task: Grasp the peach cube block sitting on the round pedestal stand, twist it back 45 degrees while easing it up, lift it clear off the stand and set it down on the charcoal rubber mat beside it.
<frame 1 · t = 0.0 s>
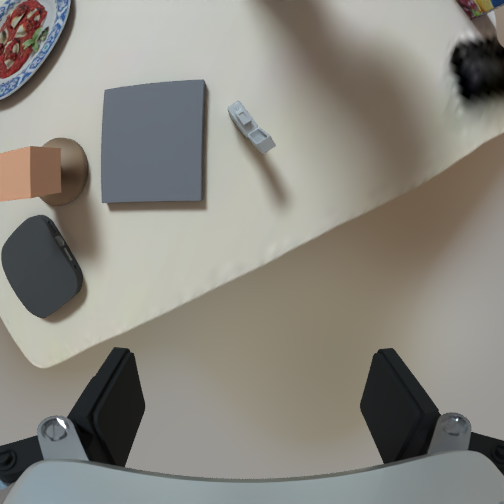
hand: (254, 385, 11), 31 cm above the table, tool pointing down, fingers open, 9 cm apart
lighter: (249, 132, 38), on the table
peach cube block: (44, 172, 34), point 4 cm above the table, touching round pedestal stand
ceramic plate: (19, 38, 31), on the table
media streaming box: (43, 265, 42), on the table
mat: (151, 141, 38), on the table
round pedestal stand: (61, 171, 38), on the table
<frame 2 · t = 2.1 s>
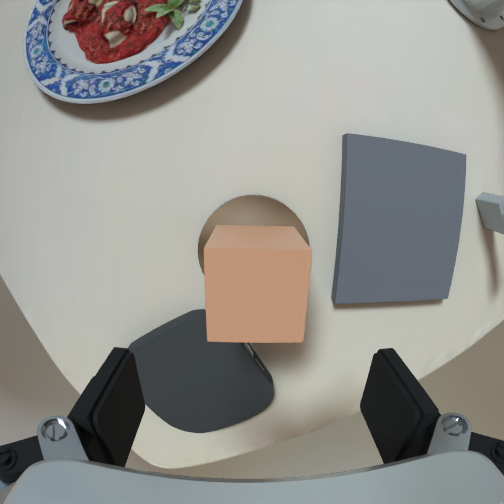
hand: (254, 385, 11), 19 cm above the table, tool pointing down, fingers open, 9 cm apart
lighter: (486, 220, 28), on the table
peach cube block: (254, 262, 25), point 4 cm above the table, touching round pedestal stand
ceramic plate: (127, 1, 22), on the table
media streaming box: (198, 371, 33), on the table
mat: (402, 222, 28), on the table
round pedestal stand: (253, 248, 29), on the table
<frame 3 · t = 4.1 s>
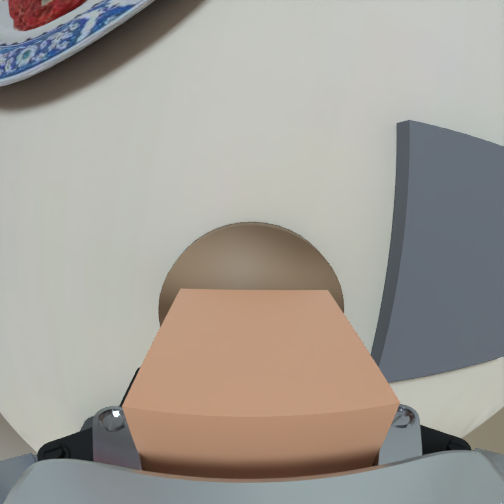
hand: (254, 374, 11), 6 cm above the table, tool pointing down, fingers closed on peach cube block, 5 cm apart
peach cube block: (253, 352, 13), point 5 cm above the table, touching gripper, round pedestal stand
mat: (470, 260, 17), on the table
round pedestal stand: (251, 309, 17), on the table
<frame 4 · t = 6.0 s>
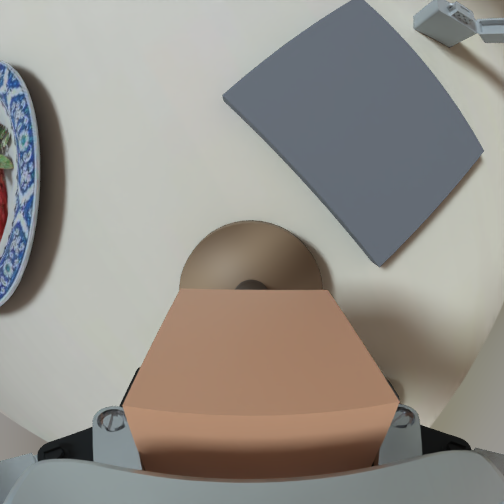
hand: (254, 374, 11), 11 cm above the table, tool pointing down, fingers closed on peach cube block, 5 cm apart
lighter: (444, 39, 18), on the table
peach cube block: (253, 352, 13), point 10 cm above the table, touching gripper
mat: (370, 120, 20), on the table
round pedestal stand: (250, 288, 23), on the table
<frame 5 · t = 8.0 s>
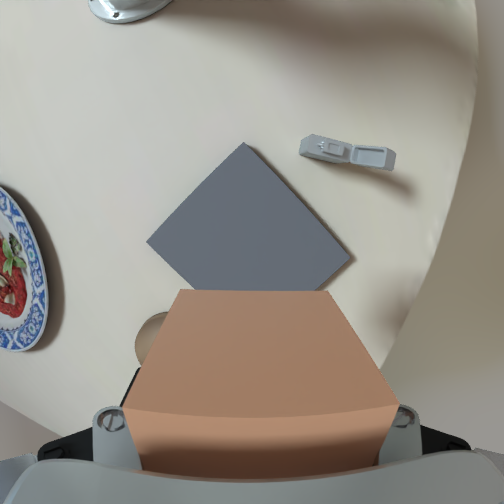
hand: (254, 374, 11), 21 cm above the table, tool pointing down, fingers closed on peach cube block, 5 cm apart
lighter: (332, 154, 30), on the table
peach cube block: (253, 353, 13), point 20 cm above the table, touching gripper
mat: (249, 246, 32), on the table
round pedestal stand: (177, 348, 35), on the table
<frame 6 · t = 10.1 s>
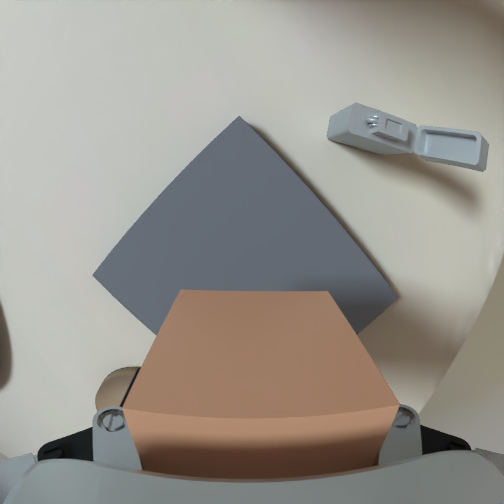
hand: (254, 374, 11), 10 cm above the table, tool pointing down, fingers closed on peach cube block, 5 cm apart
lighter: (375, 141, 19), on the table
peach cube block: (253, 353, 13), point 8 cm above the table, touching gripper
mat: (247, 281, 21), on the table
round pedestal stand: (151, 409, 24), on the table
when the fingers open (5 cm above the table, at t = 12.1 s): peach cube block drops 1 cm, resting on mat.
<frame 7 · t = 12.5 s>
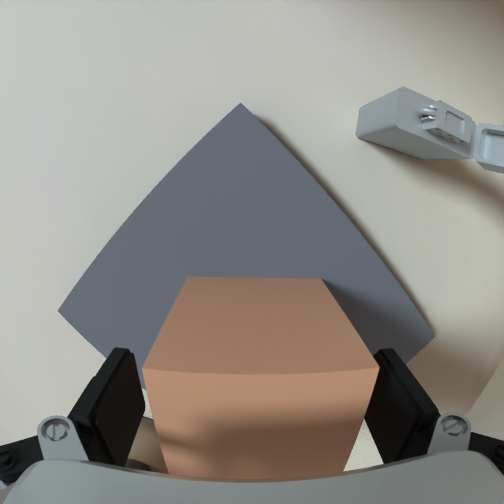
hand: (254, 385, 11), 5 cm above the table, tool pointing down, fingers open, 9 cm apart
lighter: (414, 141, 14), on the table
peach cube block: (253, 336, 14), point 1 cm above the table, touching mat
mat: (251, 321, 16), on the table
round pedestal stand: (140, 453, 19), on the table
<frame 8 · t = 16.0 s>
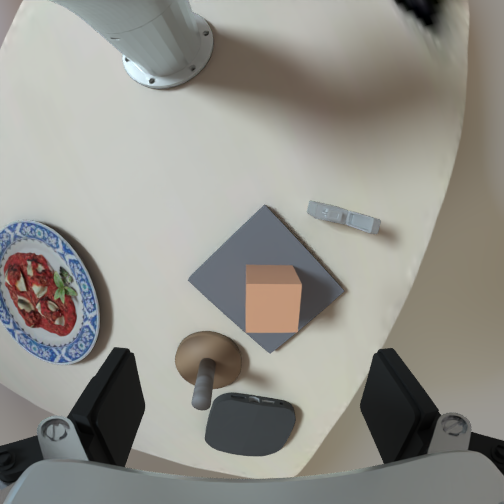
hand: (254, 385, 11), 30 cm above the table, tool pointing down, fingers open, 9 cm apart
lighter: (332, 212, 40), on the table
peach cube block: (268, 286, 40), point 1 cm above the table, touching mat
ceramic plate: (41, 293, 42), on the table
media streaming box: (248, 421, 49), on the table
mat: (267, 282, 42), on the table
round pedestal stand: (208, 358, 45), on the table
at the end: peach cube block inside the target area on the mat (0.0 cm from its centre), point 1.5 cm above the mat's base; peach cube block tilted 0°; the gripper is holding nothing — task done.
